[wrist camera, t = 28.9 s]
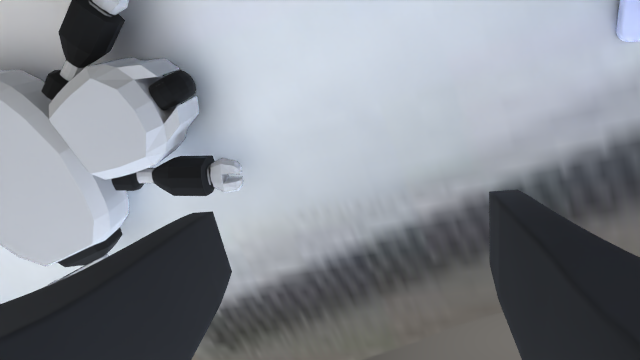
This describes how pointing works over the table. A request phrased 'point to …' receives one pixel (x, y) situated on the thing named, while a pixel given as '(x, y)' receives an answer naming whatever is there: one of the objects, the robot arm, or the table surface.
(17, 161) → the robot toy
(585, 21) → the table surface
